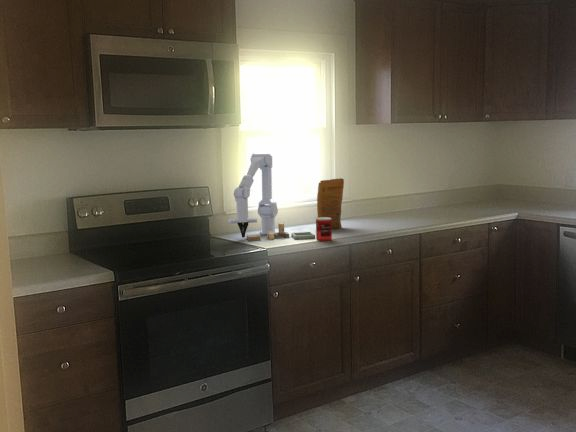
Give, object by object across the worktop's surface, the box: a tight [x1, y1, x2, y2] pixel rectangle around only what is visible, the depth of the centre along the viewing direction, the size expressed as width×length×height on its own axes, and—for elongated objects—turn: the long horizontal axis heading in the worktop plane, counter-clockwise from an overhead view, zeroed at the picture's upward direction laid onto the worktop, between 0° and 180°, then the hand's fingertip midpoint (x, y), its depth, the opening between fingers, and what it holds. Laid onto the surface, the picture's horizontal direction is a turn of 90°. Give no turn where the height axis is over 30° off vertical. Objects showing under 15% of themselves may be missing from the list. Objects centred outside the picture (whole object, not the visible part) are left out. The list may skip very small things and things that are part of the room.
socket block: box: [274, 231, 290, 239], centre depth 337 cm, size 7×7×2 cm
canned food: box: [315, 217, 333, 242], centre depth 322 cm, size 8×8×11 cm
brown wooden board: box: [246, 233, 262, 242], centre depth 331 cm, size 9×6×2 cm, turn 11°
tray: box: [291, 231, 316, 240], centre depth 333 cm, size 12×10×2 cm
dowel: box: [277, 222, 285, 234], centre depth 336 cm, size 3×3×7 cm
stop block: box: [267, 232, 275, 241], centre depth 333 cm, size 8×2×3 cm, turn 9°
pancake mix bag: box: [316, 178, 345, 230], centre depth 360 cm, size 7×19×28 cm, turn 121°
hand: (243, 237), depth 331 cm, fingers closed
